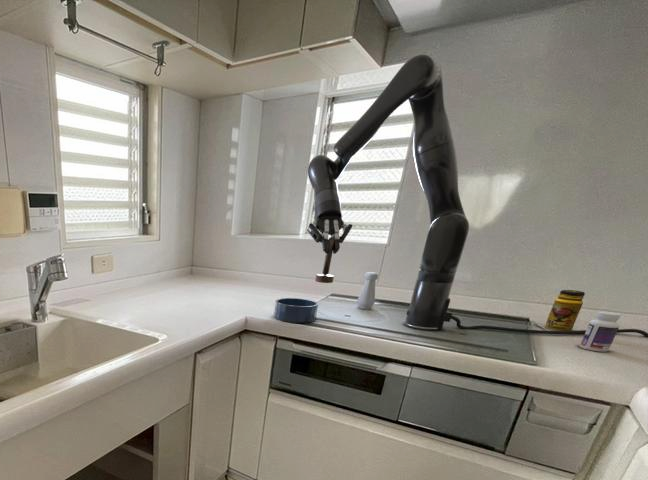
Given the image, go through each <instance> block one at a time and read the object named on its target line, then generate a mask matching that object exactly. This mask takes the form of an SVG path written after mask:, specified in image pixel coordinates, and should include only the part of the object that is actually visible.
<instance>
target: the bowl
mask: <svg viewBox="0 0 648 480" xmlns="http://www.w3.org/2000/svg"><path fill="white" fill-rule="evenodd" d="M318 307H319V303H318V302H317V301H314V300H312V299H311V300H310V299H307V298H306V299H305V298H295V297H285V298H278V299H275V303H274V310H273V317H274V318H276V319H277V320H279V321H281V322H284V323H285V322H286V323H292V324H309V323H312V322H314V321H316V319H317V314H318Z"/></svg>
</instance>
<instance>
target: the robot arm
mask: <svg viewBox="0 0 648 480" xmlns="http://www.w3.org/2000/svg"><path fill="white" fill-rule="evenodd" d="M443 83H444V82H443V69H442V64H441V63H440V61H438V59H436V58H434V57H433V56H431V55H429V54H425V53H420V54H417V55H414V56H412V57H410V58H408V60H406V61H405V62H404V64H403V65H402V66H401V67H400V68H399V70H398V71H397V72H396V74H395V75H394V76H393V77H392V78H391V80H390V81H389V83H388V84H387V86H386V87H385V88H384V89H383V91H381V93H380V94H379V95H378V97H377V98H376V99H375V101H374V102H372V104H371V105H370V106H369V107H368V109H367V110H366V111H365V112H364V113H363V114H362V116H360V118H359V119H358V120H357V121H356V122H355V123H353V125H351V127H350V128H349V129H348V130H347V131H346V132H345V133H344V134H343V135H342V136H341V137H340V138H339V139H338V140H337V141H336V143H335V144H334V145H333V152H334V153H335V155H336V159H335V160H333V159H331V158H329V157H328V156H327V155H324V154H318V155H316V156H315V157H313V158H312V159H311V160H310V162H309V164H308V167H307V177H308V179H309V182H310V185H311V187H312V189H313V192H314V193H313V194H314V205H313V206H314V207H313V208H314V209H313V210H314V216H315V217H314V218H315V222H314V223H309V224H308V226H307V229H306V231H307V232H308V234H309V235H310V236H311V238H312V239H313V240H314V242H315V243H321V244H322V251H323V252H324V254H326V253H328V252H329V250H330V245H329V236H330V237H334V238H335V242H334V247H333V252H332V255H334V254H335V255H336V254H338V252H339V250H340V248H341V247H340V246H341V245H340V244H343V243H344V241H345V239H346V238H347V236H349V233H350V231H351V230H352V227H353V224H351V223H349V224H345V221H344V220H343V215H342V214H343V213H342V207H341V206H342V205H341V198H340V195H339V187H338V182H337V180H338V179H339V178H340V176H341V175H342V173H343V172H344V171H345V169H346V168H347V166H348V165H349V163H350V162H351V160H352V158H354V157H355V156H356V155H357V154H358V153H359V152H360V151H362V149H363V148H365V146H366V145H367V144H368V143H369V142H370V141H371V140H372V139H373V137H375V136H376V134H377V132H378V131H379V130H380V129H381V127H382V126H383V124H384V123H385V122H386V120H388V118H389V117H390V116H391V115H392V114H393V113H394V112H395V111H396V110H397V109H399V107H400V106H402V105H403V104H404V103H405V102H407V101H408V102H409V105H410V109H411V112H412V116H413V125H414V128H413V140H412V153H413V158H414V164H415V170H416V173H417V176H418V180H419V183H420V185H421V188H422V190H423V193H424V195H425V198H426V201H427V205H428V211H429V223H430V226H429V229H428V231H427V235H426V240H425V243H424V246H423V247H424V248H423V251H422V255H421V260H420V265H419V269H418V273H417V276H416V280H415V284H414V288H413V292H412V296H411V299H410V303H409V306H408V307H409V308H408V310H406V318H405V321H404V325H405V326H407V327H409V328H412V329H413V328H414V329H418V330H423V331H442V329H443V327H444V324H445V323H450V322H451V320H453V321H455V323H456V327H457V328H459V329H460V330H480V329H481V330H493V331H503V332H512V333H523V334H536V335H537V334H539V335H584V334H585V332H586V330H587V329H583V330H573V331H547V330H545V329H544V330H542V329H541V330H540V329H527V328H526V329H525V328H513V327H505V326H502V327H501V326H494V325H471V326H465V325H462V324H461V323H462V322H461V319H460V318H458V317H457V316H455V315H453V313H452V312H451V311H450V310H448V309H449V306H450V303H451V298H450V294H451V291H452V289H453V288H452V287H453V284H454V281H455V279H456V274H457V271H458V268H459V265H460V262H461V258H462V254H463V252H464V248H465V245H466V241H467V238H468V235H469V231H470V223H469V220H468V218H467V216H466V213H465V211H464V207H463V204H462V201H461V197H460V191H459V170H458V159H457V158H458V157H457V152H456V145H455V142H454V138H453V133H452V129H451V128H452V127H451V124H450V121H449V118H448V114H447V111H446V110H447V109H446V106H445V98H444V84H443ZM340 230H342V234H341V235H340ZM622 333H623V334H624V333H634V334H639V335H642V336H644V337H645V338H648V332H647V331H646V330H642V329H637V328H621V329H620V328H619V329H618V331H617V333H616V334H622Z"/></svg>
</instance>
